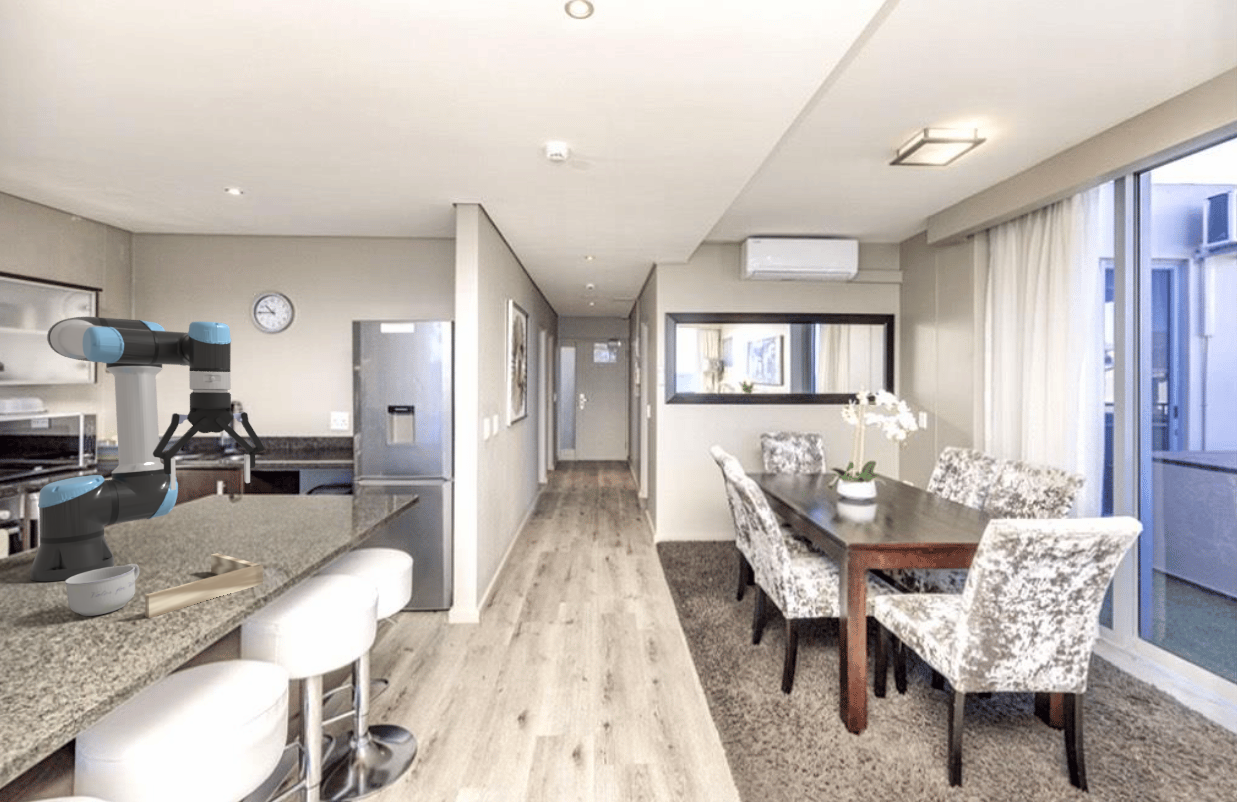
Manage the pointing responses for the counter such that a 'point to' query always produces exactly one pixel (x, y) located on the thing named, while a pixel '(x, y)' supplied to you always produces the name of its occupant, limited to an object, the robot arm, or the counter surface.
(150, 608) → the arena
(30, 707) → the counter surface
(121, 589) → the teacup
